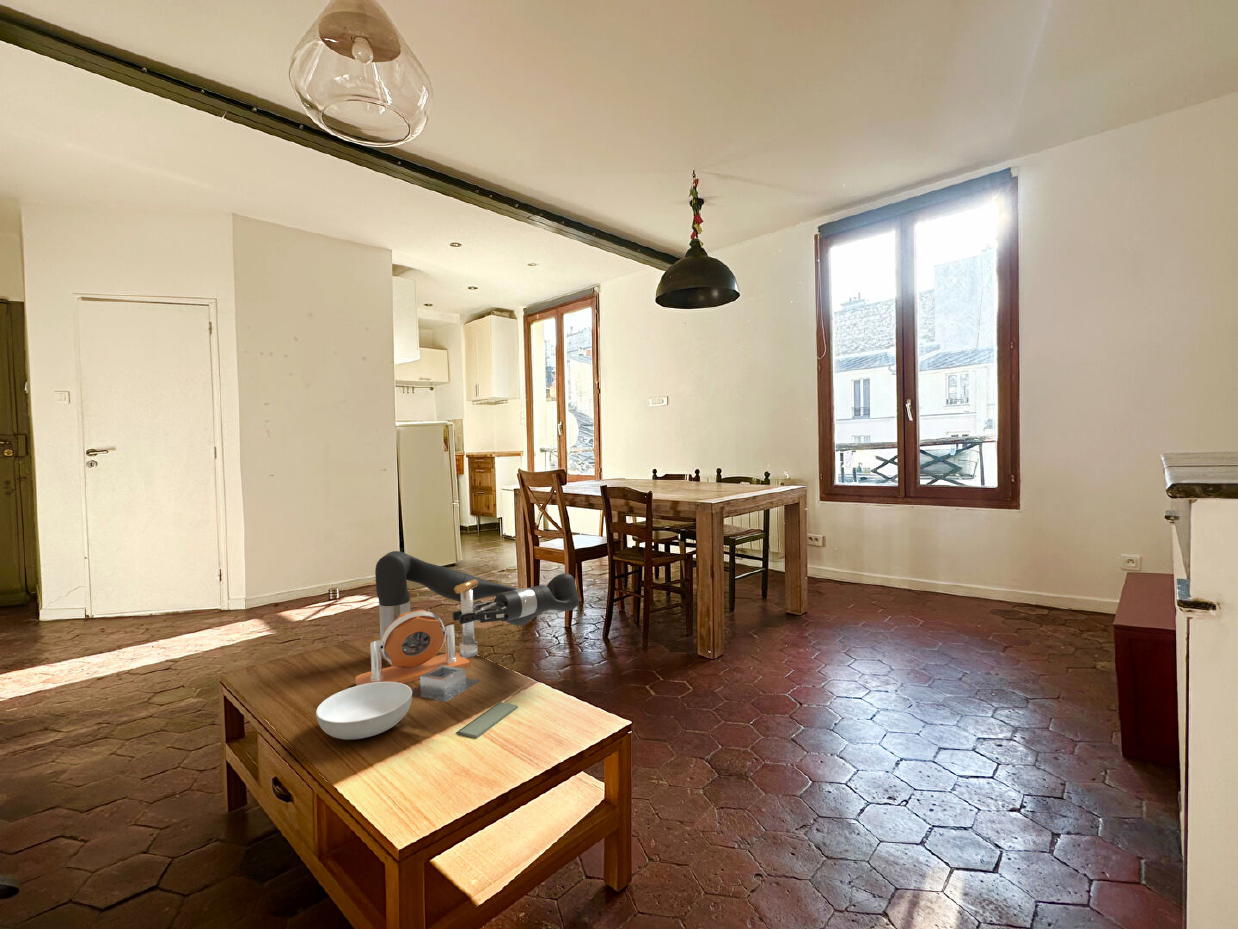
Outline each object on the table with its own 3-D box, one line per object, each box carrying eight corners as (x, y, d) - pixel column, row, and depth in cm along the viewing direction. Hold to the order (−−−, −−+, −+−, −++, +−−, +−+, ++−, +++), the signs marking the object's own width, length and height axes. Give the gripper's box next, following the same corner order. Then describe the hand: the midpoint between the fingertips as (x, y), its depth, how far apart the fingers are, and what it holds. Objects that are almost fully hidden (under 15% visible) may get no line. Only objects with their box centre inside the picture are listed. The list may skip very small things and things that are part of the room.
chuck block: (441, 676, 164) (441, 659, 163) (480, 684, 158) (480, 666, 157) (405, 697, 151) (404, 678, 151) (445, 705, 145) (445, 686, 145)
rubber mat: (467, 697, 150) (467, 695, 150) (517, 707, 143) (517, 705, 143) (423, 725, 135) (423, 723, 135) (476, 738, 128) (476, 735, 128)
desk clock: (471, 670, 168) (468, 603, 167) (363, 699, 151) (359, 624, 150) (457, 658, 178) (454, 595, 177) (354, 683, 161) (351, 614, 160)
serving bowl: (323, 717, 141) (322, 690, 140) (412, 701, 148) (411, 676, 148) (310, 760, 121) (308, 729, 121) (413, 740, 129) (412, 710, 128)
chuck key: (470, 648, 148) (468, 578, 147) (484, 650, 146) (482, 579, 145) (452, 658, 141) (450, 585, 140) (466, 660, 139) (464, 586, 139)
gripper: (530, 623, 147) (469, 640, 136) (503, 612, 158) (444, 626, 146) (529, 595, 147) (468, 609, 136) (502, 585, 158) (443, 598, 146)
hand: (456, 618), depth 141 cm, fingers closed on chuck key, 3 cm apart
